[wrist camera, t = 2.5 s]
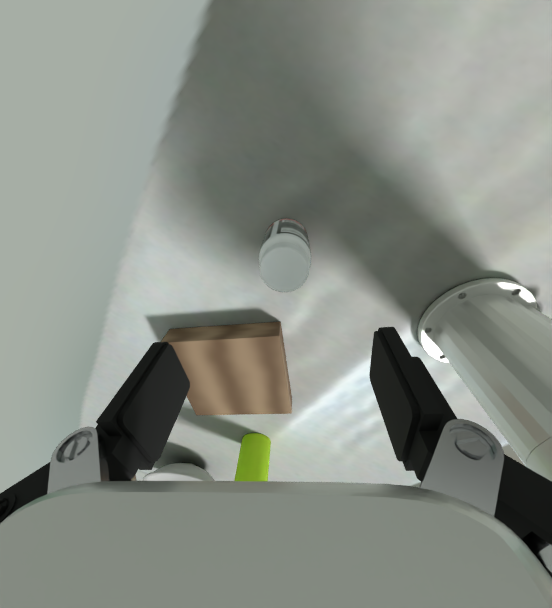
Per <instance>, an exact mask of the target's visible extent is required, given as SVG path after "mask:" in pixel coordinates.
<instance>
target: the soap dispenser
mask: <svg viewBox="0 0 552 608" xmlns="http://www.w3.org/2000/svg"><path fill="white" fill-rule="evenodd" d="M270 444H271V441H270V439H269V438H268V437H267V436H265V435H262V434H259V433H250V434H246V435H245V436H243V438H242V443H241V448H240V453H239V459H238V464H237V470H236V475H235V481H268V469H269V457H270Z"/></svg>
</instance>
